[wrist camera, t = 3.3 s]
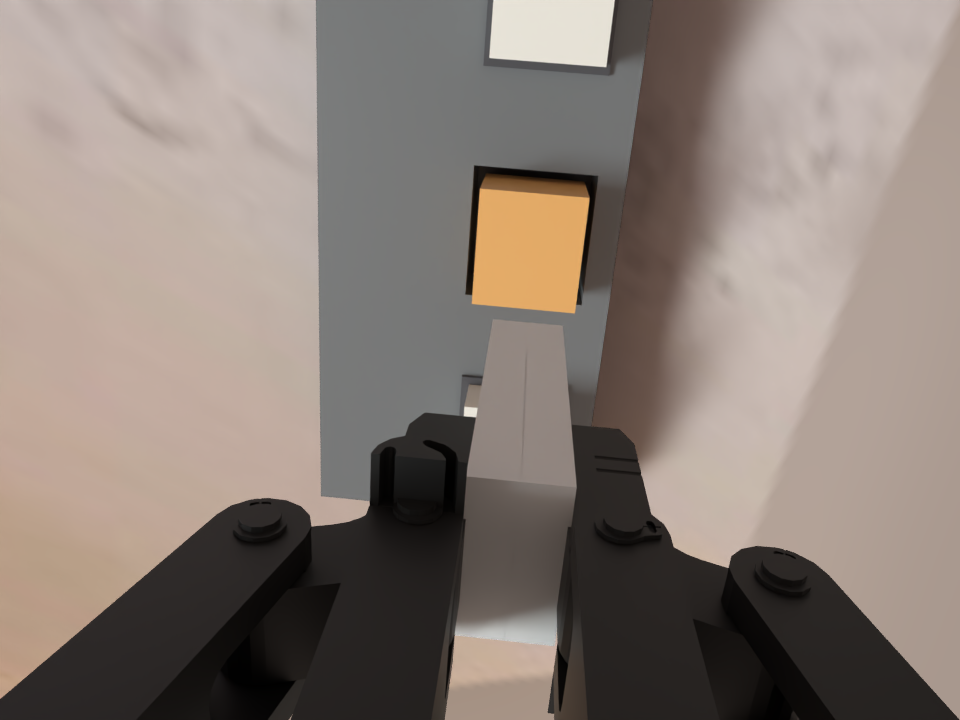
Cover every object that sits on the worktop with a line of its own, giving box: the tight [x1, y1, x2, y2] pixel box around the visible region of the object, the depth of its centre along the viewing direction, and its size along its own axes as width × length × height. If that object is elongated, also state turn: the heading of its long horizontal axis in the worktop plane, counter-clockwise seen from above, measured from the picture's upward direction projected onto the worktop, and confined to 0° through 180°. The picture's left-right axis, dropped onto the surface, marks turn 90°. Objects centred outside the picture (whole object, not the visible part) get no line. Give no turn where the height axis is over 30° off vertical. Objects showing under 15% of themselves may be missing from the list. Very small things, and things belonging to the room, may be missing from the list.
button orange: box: [472, 173, 590, 313], centre depth 27 cm, size 4×4×3 cm
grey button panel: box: [316, 0, 653, 501], centre depth 29 cm, size 24×11×6 cm, turn 176°
